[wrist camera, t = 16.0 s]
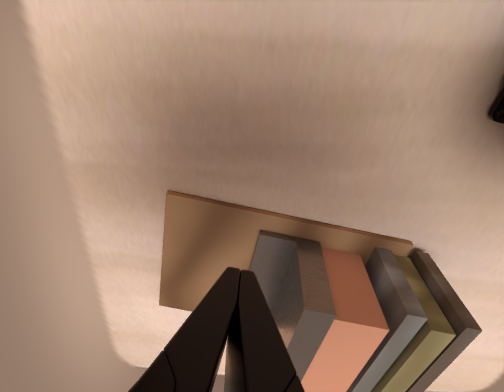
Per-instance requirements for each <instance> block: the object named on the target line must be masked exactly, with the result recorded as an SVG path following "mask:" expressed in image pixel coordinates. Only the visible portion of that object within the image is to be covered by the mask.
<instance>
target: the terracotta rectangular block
mask: <svg viewBox="0 0 504 392" xmlns="http://www.w3.org/2000/svg"><path fill="white" fill-rule="evenodd" d="M321 249H322V253H323V257H324V262H325V266H326V271H327V275H328V280H329V284H330V289H331V293H332V298H333V302H334V306H335V311H336V315H337V316H336V318H335V319H334V321H333V323H332V325H331V327H330V329H329V331H328V332H327V334H326V336H325V338H324V340H323V342H322V344H321V345H320V347H319V349H318V351H317V353H316V355H315V357H314V358H313V360H312V362H311V364H310V366H309V368H308V370H307V371H306V373H305V375H304V377H303V379H302V381H301V383H302V386H303V388H304V390H305V392H346V391H347V390H348V388H349V387H350V385H351V384H352V383H353V381H354V380H355V378H356V377H357V375H358V374H359V373H360V371H361V370H362V368H363V367H364V366H365V364H366V363H367V361H368V360H369V358H370V357H371V356H372V354H373V353H374V351H375V350H376V349H377V347H378V346H379V344H380V343H381V341H382V340H383V339H384V337H385V336H386V334H387V333H388V332H389V327H388V325H387V322H386V320H385V317H384V315H383V312H382V310H381V307H380V305H379V302H378V299H377V297H376V294H375V292H374V289H373V287H372V284H371V282H370V279H369V276H368V274H367V271H366V269H365V266H364V264H363V261H362V259H361V256H360V255H359V254H354V253H349V252H344V251H340V250H335V249H330V248H325V247H321Z"/></svg>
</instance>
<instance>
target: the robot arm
mask: <svg viewBox="0 0 504 392" xmlns="http://www.w3.org/2000/svg"><path fill="white" fill-rule="evenodd" d="M501 110H502V112H501V114H500V115H499V116H497V113H498V112H499V111H501ZM488 117H489V119H491V120H493V121H495V122H499V123H503V124H504V88H503V90H502V91H501V93H500V94H499V96H498V98H497V99H496V101H495V103H494V104H493V106H492V108H491V109H490V111H489V113H488ZM227 337H228V338H227ZM226 341H227V348H226V365H225V384H224V392H305V390H304V388H303V386H302V383H301V381H300V379H299V376H298V375H296V374H297V372H296V369H295V367H294V365H293V362H292V360H291V358H290V355H289V353H288V350H287V348H286V346H285V343H284V341H283V339H282V336H281V334H280V332H279V329H278V327H277V324H276V322H275V320H274V317H273V315H272V313H271V310H270V308H269V306H268V303H267V301H266V298H265V296H264V294H263V291H262V289H261V287H260V284H259V282H258V279H257V277H256V275H255V273H254V272H253V271H250V270H245V269H242V270H241V271H240V269H239V268H235V267H227V268H226V269H225V270H224V272H223V273H222V274H221V276H220V277H219V278H218V279H217V281H216V282H215V283H214V285H213V286H212V287H211V288H210V290H209V291H208V292H207V294H206V295H205V296H204V298H203V299H202V300H201V301H200V303H199V304H198V305H197V307H196V308H195V309H194V310H193V312H192V313H191V314H190V316H189V317H188V318H187V319H186V321H185V322H184V323H183V325H182V326H181V327H180V328H179V330H178V331H177V332H176V334H175V335H174V336H173V337H172V339H171V340H170V341H169V343H168V344H167V345H166V346H165V348H164V351H161V353H160V354H159V355H158V356H157V358H156V359H155V360H154V362H153V363H152V364H151V365H150V367H149V368H148V369H147V370H146V371H145V373H144V374H143V375H142V376H141V378H140V379H139V380H138V381H137V382H136V383H135V384H134V385H133V387H132V388H131V389H130V390H129V391H128V392H212V389H213V386H214V383H215V379H216V376H217V372H218V369H219V366H220V362H221V359H222V356H223V352H224V349H225V345H226Z"/></svg>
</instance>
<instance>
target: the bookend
mask: <svg viewBox="0 0 504 392" xmlns="http://www.w3.org/2000/svg"><path fill="white" fill-rule="evenodd" d="M249 270H250V271H253V272H254V273H255V275H256V277H257V279H258V282H259V284H260V287H261V289H262V291H263V294H264V296H265V298H266V301H267V303H268V306H269V308H270V310H271V313H272V315H273V317H274V320H275V322H276V324H277V327H278V329H279V332H280V334H281V336H282V339H283V341H284V343H285V346H286V348H287V350H288V353H289V355H290V358H291V360H292V362H293V365H294V367H295V369H296V372H297V374H296V375H298V376H299V379H300V381H302V379H303V377H304V375H305V373H306V371H307V370H308V368H309V366H310V364H311V362H312V360H313V358H314V357H315V355H316V353H317V351H318V349H319V347H320V345H321V344H322V342H323V340H324V338H325V336H326V334H327V332H328V331H329V329H330V327H331V325H332V323H333V321H334V319H335V318H336V316H337V315H336V311H335V306H334V302H333V298H332V293H331V289H330V284H329V280H328V275H327V271H326V266H325V262H324V257H323V253H322V249H321V244H320V242H316V241H311V240H306V239H301V238H297V237H292V236H287V235H282V234H277V233H272V232H267V231H263V230H260V232H259V236H258V239H257V243H256V247H255V250H254V254H253V258H252V261H251V265H250V269H249Z"/></svg>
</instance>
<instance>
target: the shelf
mask: <svg viewBox="0 0 504 392" xmlns="http://www.w3.org/2000/svg"><path fill="white" fill-rule="evenodd" d="M260 230H263V231H267V232H272V233H277V234H282V235H287V236H292V237H297V238H301V239H306V240H311V241H316V242H320V244H321V247H325V248H330V249H335V250H340V251H344V252H349V253H354V254H359V255H360V256H361V259H362V261H363V264H364V266H365V269H366V271H367V274H368V276H369V279H370V282H371V284H372V287H373V289H374V292H375V294H376V297H377V299H378V302H379V305H380V307H381V310H382V312H383V315H384V317H385V320H386V322H387V325H388V327H389V332H388V333H387V334H386V336H385V337H384V339H383V340H382V341H381V343H380V344H379V346H378V347H377V349H376V350H375V351H374V353H373V354H372V356H371V357H370V358H369V360H368V361H367V363H366V364H365V366H364V367H363V368H362V370H361V371H360V373H359V374H358V375H357V377H356V378H355V380H354V381H353V383H352V384H351V385H350V387H349V388H348V390H347V391H346V392H424V391H425V390H426V389H427V388H428V387H429V386H430V385H431V384H432V382H433V381H434V380H435V379H436V378H437V377H438V376H439V375H440V374H441V373H442V372H443V371H444V370H445V369H446V368H447V367H448V366H449V365H450V364H451V363H452V362H453V361H454V360H455V359H456V358H457V357H458V356H459V354H460V353H461V352H462V351H463V350H464V349H465V348H466V347H467V346H468V345H469V344H470V343H471V342H472V341H473V340H474V339H475V338H476V337H477V336H478V335H479V334H480V333H481V332H482V329H481V328H480V327H479V325H478V324H477V322H476V321H475V319H474V318H473V317H472V315H471V314H470V312H469V311H468V310H467V308H466V307H465V305H464V304H463V302H462V301H461V300H460V298H459V297H458V295H457V294H456V292H455V291H454V290H453V288H452V287H451V285H450V284H449V282H448V281H447V280H446V278H445V277H444V275H443V274H442V272H441V271H440V270H439V268H438V267H437V265H436V264H435V262H434V261H433V260H432V258H431V257H430V255H429V254H428V253H423V252H418V251H416V253H415V254H414V256H413V257H412V259H411V260H410V258H407V255H408V253H409V252H410V250H411V249H412V247H413V244H412V242H411V241H407V240H402V239H398V238H393V237H388V236H383V235H378V234H374V233H369V232H364V231H359V230H354V229H350V228H345V227H340V226H335V225H331V224H326V223H321V222H316V221H311V220H307V219H302V218H297V217H292V216H287V215H283V214H278V213H273V212H268V211H263V210H259V209H254V208H249V207H244V206H239V205H235V204H230V203H225V202H220V201H215V200H211V199H206V198H201V197H196V196H192V195H187V194H182V193H177V192H172V191H168V192H167V194H166V207H165V223H164V238H163V254H162V269H161V284H160V300H159V305H161V306H166V307H172V308H177V309H182V310H187V311H193V310H194V309H195V308H196V307H197V305H198V304H199V303H200V301H201V300H202V299H203V298H204V296H205V295H206V294H207V292H208V291H209V290H210V288H211V287H212V286H213V285H214V283H215V282H216V281H217V279H218V278H219V277H220V276H221V274H222V273H223V272H224V270H225V269H226V268H227V267H235V268H239V269H240V271H241V270H242V269H245V270H249V269H250V265H251V261H252V258H253V254H254V250H255V247H256V243H257V239H258V236H259V232H260Z"/></svg>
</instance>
